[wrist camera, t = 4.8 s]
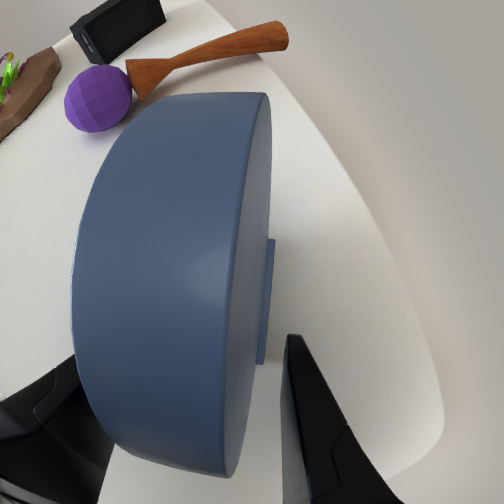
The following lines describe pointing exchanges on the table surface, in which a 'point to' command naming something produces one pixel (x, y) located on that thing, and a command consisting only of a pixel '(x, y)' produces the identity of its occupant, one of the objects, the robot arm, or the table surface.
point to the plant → (25, 87)
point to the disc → (177, 279)
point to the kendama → (155, 75)
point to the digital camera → (116, 27)
